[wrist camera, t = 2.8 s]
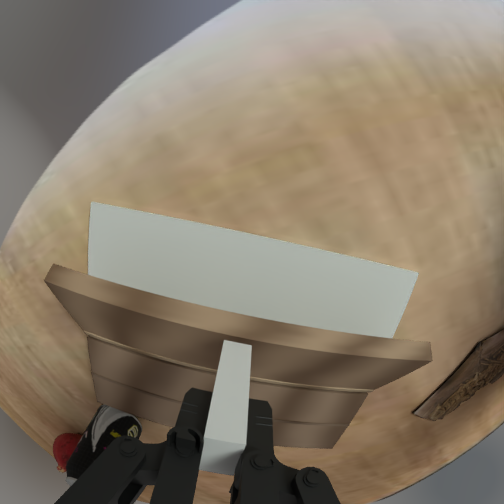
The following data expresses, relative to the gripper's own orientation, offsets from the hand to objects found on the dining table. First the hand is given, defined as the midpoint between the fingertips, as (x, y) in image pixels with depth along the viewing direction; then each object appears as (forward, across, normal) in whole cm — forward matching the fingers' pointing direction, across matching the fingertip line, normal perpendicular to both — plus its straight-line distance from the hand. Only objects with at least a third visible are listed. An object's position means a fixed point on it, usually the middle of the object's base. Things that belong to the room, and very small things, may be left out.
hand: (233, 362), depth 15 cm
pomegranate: (+8, -19, -29) cm, 35 cm away
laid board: (+7, 0, -11) cm, 13 cm away
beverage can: (+8, -11, -19) cm, 23 cm away
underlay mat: (+7, 0, -4) cm, 9 cm away
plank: (+4, 0, -1) cm, 4 cm away
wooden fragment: (+8, +32, -3) cm, 34 cm away
